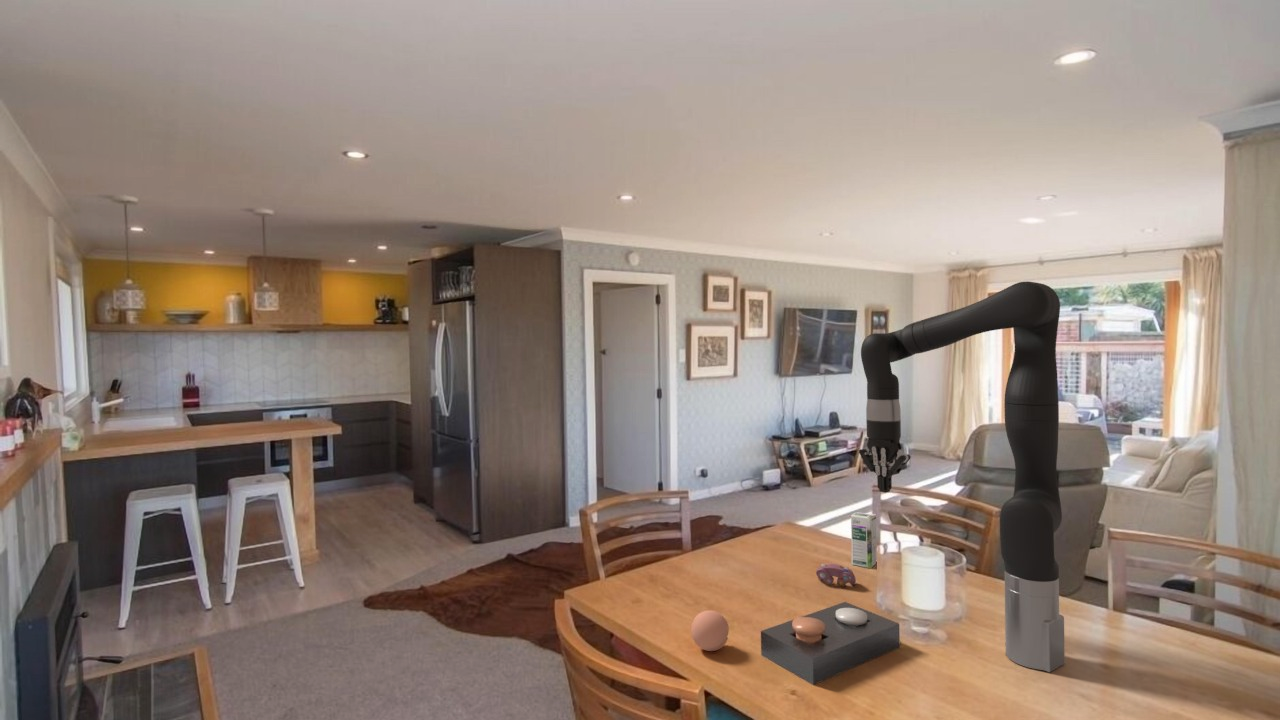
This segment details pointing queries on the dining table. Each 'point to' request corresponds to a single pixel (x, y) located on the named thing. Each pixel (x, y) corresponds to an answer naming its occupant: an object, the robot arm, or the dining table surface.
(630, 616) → the dining table surface
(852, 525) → the syrup box
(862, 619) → the grey button
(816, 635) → the terracotta button
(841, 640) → the button panel
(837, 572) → the video game controller
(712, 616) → the toy ball
